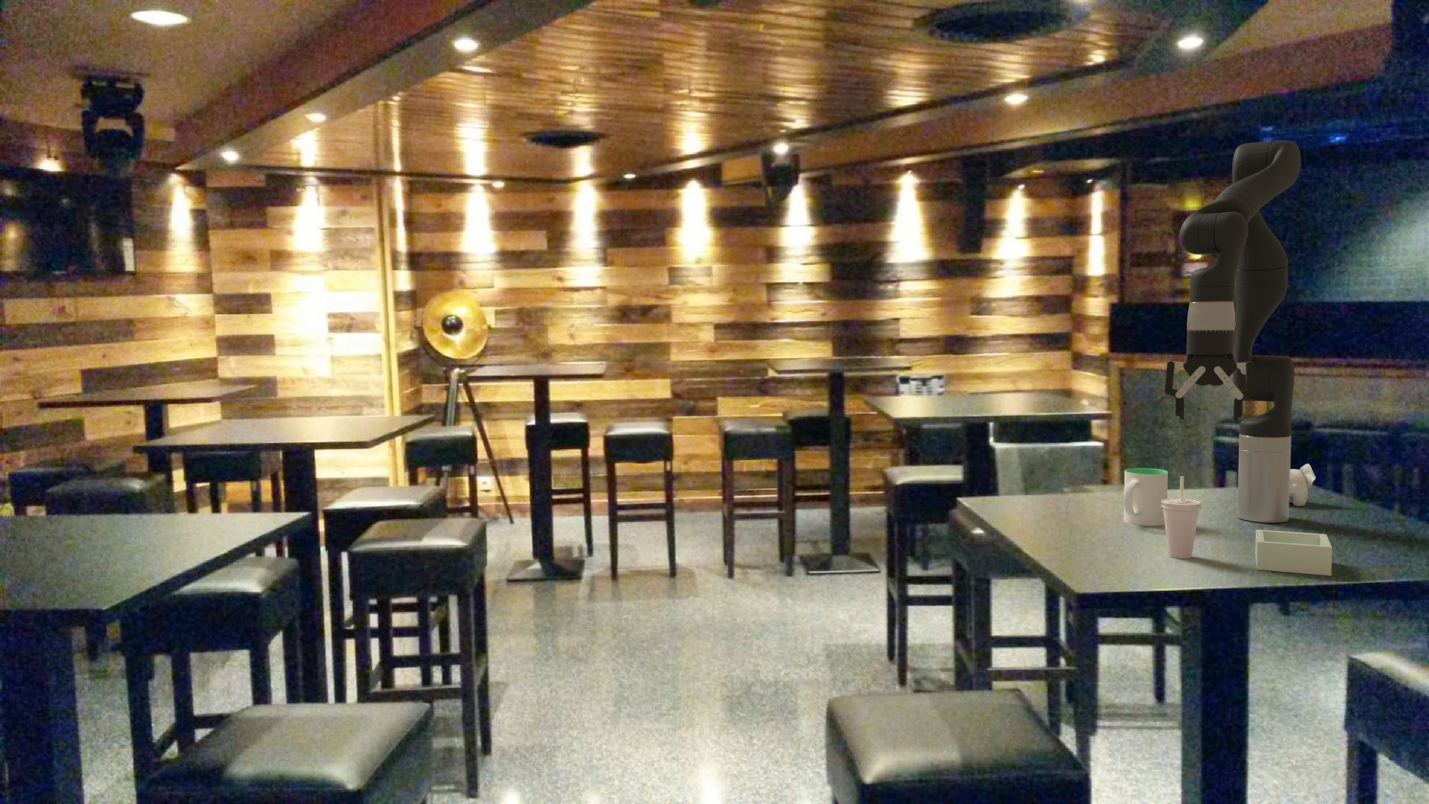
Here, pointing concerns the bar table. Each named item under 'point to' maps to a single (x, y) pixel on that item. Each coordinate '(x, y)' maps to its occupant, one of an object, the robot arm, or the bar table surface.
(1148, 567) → the bar table surface
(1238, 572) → the bar table surface
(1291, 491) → the elephant figurine
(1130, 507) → the mug
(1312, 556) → the bin
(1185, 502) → the smoothie
